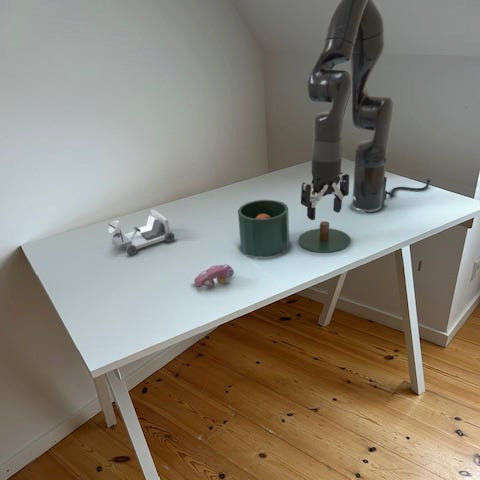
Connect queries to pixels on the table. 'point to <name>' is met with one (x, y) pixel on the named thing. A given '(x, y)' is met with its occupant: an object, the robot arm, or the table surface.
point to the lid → (324, 239)
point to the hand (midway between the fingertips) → (324, 215)
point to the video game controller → (214, 275)
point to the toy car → (142, 233)
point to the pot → (264, 228)
